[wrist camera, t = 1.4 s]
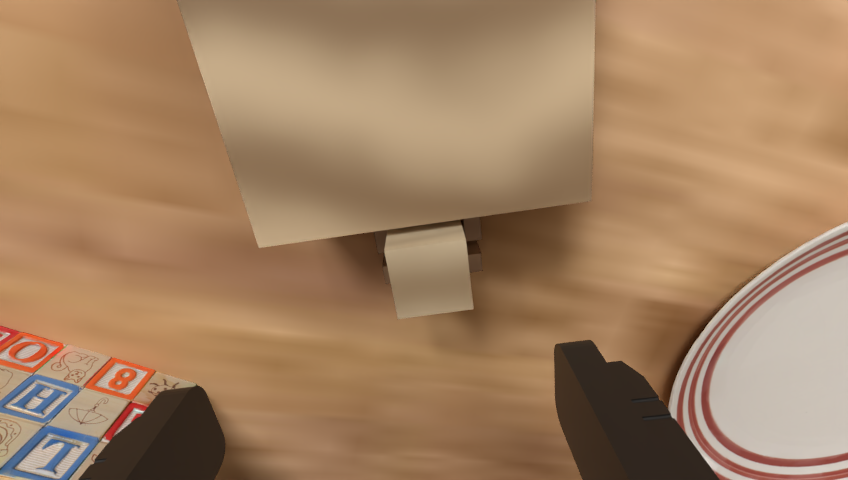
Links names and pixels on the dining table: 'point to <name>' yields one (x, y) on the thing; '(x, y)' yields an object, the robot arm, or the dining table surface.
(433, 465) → the dining table surface
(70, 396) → the stack of blocks
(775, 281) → the dinner plate
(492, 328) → the dining table surface
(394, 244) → the beige wooden block
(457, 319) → the dining table surface
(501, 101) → the lid
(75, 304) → the dining table surface
